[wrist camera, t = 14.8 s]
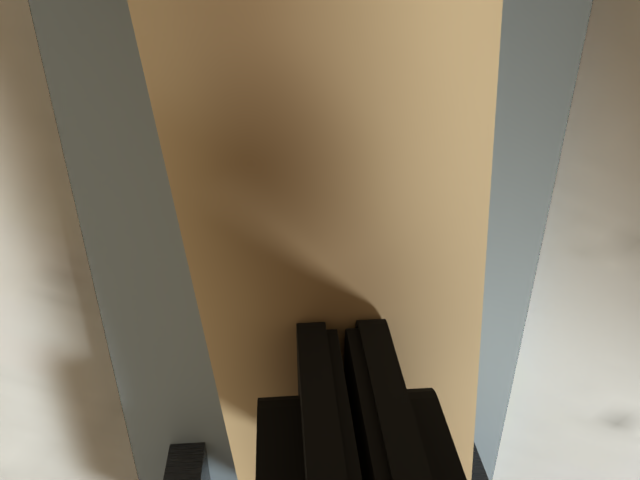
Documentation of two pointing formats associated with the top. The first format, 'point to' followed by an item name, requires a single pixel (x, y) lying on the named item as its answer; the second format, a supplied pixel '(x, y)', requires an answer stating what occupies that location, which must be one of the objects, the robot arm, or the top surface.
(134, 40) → the rail base
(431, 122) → the slat
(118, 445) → the top surface
